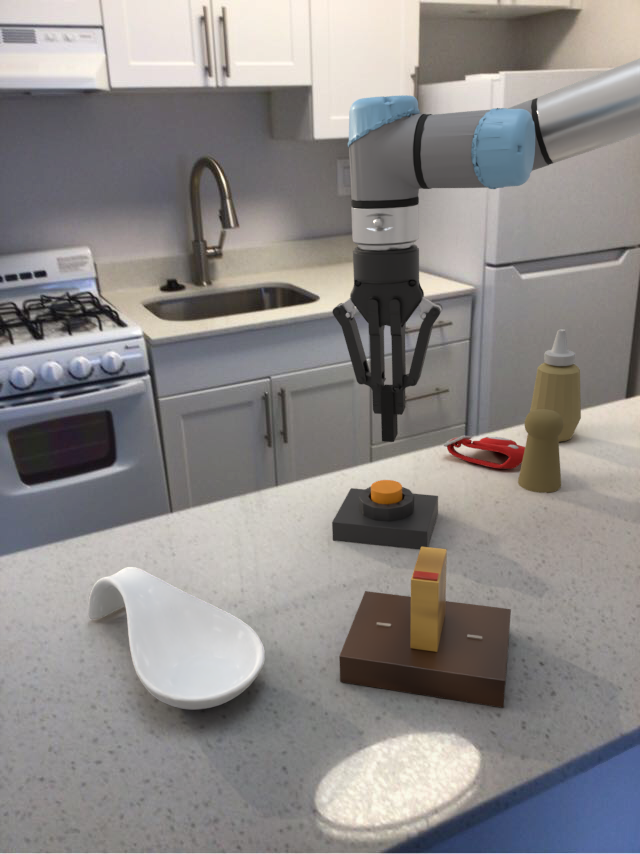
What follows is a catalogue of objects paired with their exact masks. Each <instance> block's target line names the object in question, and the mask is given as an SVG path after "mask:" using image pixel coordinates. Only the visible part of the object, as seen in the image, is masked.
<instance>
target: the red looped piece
mask: <svg viewBox="0 0 640 854" xmlns="http://www.w3.org/2000/svg"><path fill="white" fill-rule="evenodd" d="M462 446H464V447H467V448H470V449H476V450H483V451H488V452H496V453H500V454H503V455H505V456H507V457H508V458H507V459H506V460H505V462H503V463H497V462H494V461H489V460H486V459H481V458H477V457H472V456H468V455H465V454H462V453H461V452H458V451H457V450H456V448H457V449H460V448H461V447H462ZM443 447H446V448H447V451H448V453H449V454H451V456H453V457H455V458H458V459H460V460H461V461H465V462H469V463H473V464H475V465H481V466H485V467H489V468H493V469H502V470H503V469H505V470H512V469H515V468H518V466H521V465H522V460H523V455H524V451H525V446H523V445H520V444H518V443H517V442H515V440H512V439H509V438H505V437H501V436H499V437H498V436H486V437H482V438H481V439H479V440H472V436H471V435H465V434H464V435H461V436H458V437H457V436H456V437H453V438H451V439H448V440H447V441H446V442H445V443H443Z"/></svg>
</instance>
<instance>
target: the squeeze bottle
mask: <svg viewBox="0 0 640 854" xmlns="http://www.w3.org/2000/svg"><path fill="white" fill-rule="evenodd" d="M543 357H544V359H543V361H544V362H542V363H541V364H539V366H537V369H536V376H535V381H534V387H533V392H532V398H531V403H530V409H529V413H530V412H531V411H534V410H539V409H546V410H552V411H555V412H557V413H559V414H560V415H561V417H562V419H563V429H562V432H561V433H560V434H559V436H558V441H559V443H560V442H567V441H569V440H571V439H572V438H573V436H574V433H575V431H576V430H577V428H578V425H579V423H580V421H581V419H582V408H581V407H582V405H581V404H582V403H581V399H582V398H581V369H580V367H579V366H578V365H577V364H575V363H576V362H575V361H576V353H575V351H573V350H570V349H569V345H568V337H567V330H566V329H565V328H564V329H562V328H560V329H557V331H556V335H555V337H554V341H553V344H552V348H551V349H546V351H544V356H543Z"/></svg>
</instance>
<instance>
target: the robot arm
mask: <svg viewBox="0 0 640 854" xmlns="http://www.w3.org/2000/svg"><path fill="white" fill-rule="evenodd" d="M637 136H640V58H637V59H634V60H631V61H629V62H626V63H623V64H621V65H619V66H616V67H614V68H610V69H608V70H605V71H603V72H600V73H598V74H594V75H593V76H590V77H588V78H585V79H582V80H580V81H577V82H574V83H572V84H569V85H566V86H564V87H561V88H559V89H556V90H554V91H551V92H548V93H545V94H542V95H540V96H537V97H536V98H533V99H530V100H526V101H523V102H521V103H519V104H516V105H513V106H511V107H508V108H507V107H496V108H491V109H482V110H470V111H469V110H467V111H458V112H447V113H437V114H432V113H421V109H419V101H418V99H417V98H416V97H415V96H414V95H404V94H402V95H389V96H388V95H387V96H370V97H362V98H358V99H356V100H355V101H353V103H352V104H351V105H350V107H349V112H348V142H347V148H348V157H349V159H348V160H349V173H350V174H349V175H350V176H349V177H350V194H351V197H350V199H351V200H350V202H351V208H350V209H351V211H350V212H351V213H350V214H351V234H352V242H353V243H354V244H356V245H357V246H356V247H355V248H354V250H353V251H352V263H353V286H352V289H351V292H350V294H349V298H348V299H347V300H345V301H344V302H340V303H338V304H337V305H335V307H334V308H333V309H332V315H333V317H334V318H335V319H336V321H337V322H338V324H339V325H340V326H341V327H340V328H341V330H342V333H343V337H344V341H345V344H346V347H347V351H348V354H349V358H350V362H351V366H352V370H353V373H354V376H355V380H356V382H357V384H358V385H365V386H367V387H369V388H370V389H371V391H372V392H371V393H372V394H371V396H372V397H371V398H372V411H373V413H374V415H380V420H381V421H380V423H381V425H380V426H381V427H380V429H381V442H384V443H394V442H395V440H396V438H397V436H398V434H399V433H398V416H399V415H400V416H401V415H403V414H404V412H405V409H406V405H407V404H406V388H409V387H415V386H416V385H417V384H418V383H419V381H420V379H421V376H422V371H423V368H424V364H425V361H426V356H427V352H428V347H429V344H430V339H431V335H432V331H433V327H434V324H435V323H436V321H437V320H438V318H439V316H440V315H441V314H442V312H443V306H442V304H441V303H439V302H438V303H437V302H436V303H434V302H432V301H431V300H430V299H428V298H426V297H425V292H424V289H423V288H422V286H421V282H420V248H419V247H418V246H417V245H416V244H415V242H417V241H418V240H419V239H420V204H419V203H420V197H419V192H420V189H421V190H432V189H487V188H488V189H489V190H496V189H503V188H509V187H519V186H523V185H525V183H526V182H527V181H528V180H529V179H530V177H531V173H532V172H533V171H535V170H539V169H542V168H544V167H548V166H550V165H553V164H556V163H559V162H561V161H565V160H568V159H571V158H574V157H577V156H580V155H583V154H586V153H589V152H592V151H595V150H598V149H600V148H604V147H608V146H611V145H613V144H616V143H620V142H622V141H625V140H628V139H629V140H630V139H631V138H634V137H637ZM418 307H419V308H420V312H419V317H420V319H421V320H422V321H421V324H420V326H419V329H418V330H419V331H418V335H417V338H416V342H415V347H414V352H413V354H412V360H411V363H410V368H409V372H408V373H407V371H406V370H407V367H406V365H407V363H406V362H407V361H406V330H407V329H406V328H407V323H408V321H409V320H410V318H411V317H412V315H413V314H414V313H415V312H416V310H417V308H418ZM355 308H356V309H357V311H358V312H359V313H360V315H361V316H362V317H363V319H364V320H365V321H366V323H368V335H369V354H370V357H369V358H370V367H369V362H368V360H367V356H366V353H365V348H364V345H363V340H362V337H361V335H360V330H359V327H358V324H357V319H356V318H355V316H356V313H357V311H356V309H355ZM385 326H387V327H390V328H389V329H390V332H389V333H390V336H391V337H390V339H391V378H392V380H391V381H392V382H391V383H392V384H385V382H386V381H387V377H386V367H385V365H386V363H385V361H386V359H385Z"/></svg>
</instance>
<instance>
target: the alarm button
mask: <svg viewBox="0 0 640 854" xmlns="http://www.w3.org/2000/svg"><path fill="white" fill-rule="evenodd" d="M370 487H371V500H372V501H373V502H376V503H378V504H394V503H398V502H400V501H402V487H403V484H402V483H400V482H399V481H396V480H392V479H381V480H377V481H375V482H373V483H372V484H371V485H370Z"/></svg>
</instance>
